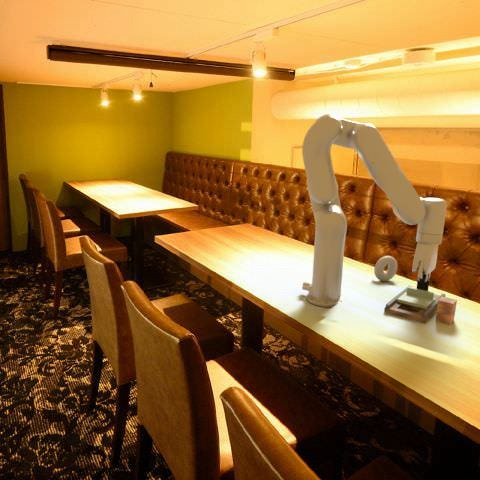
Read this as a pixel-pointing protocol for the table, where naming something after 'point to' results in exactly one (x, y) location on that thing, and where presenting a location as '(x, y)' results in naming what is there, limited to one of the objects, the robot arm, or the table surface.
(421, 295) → the lid
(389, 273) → the donut
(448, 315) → the block
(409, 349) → the table surface
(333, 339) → the table surface
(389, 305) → the puzzle board
